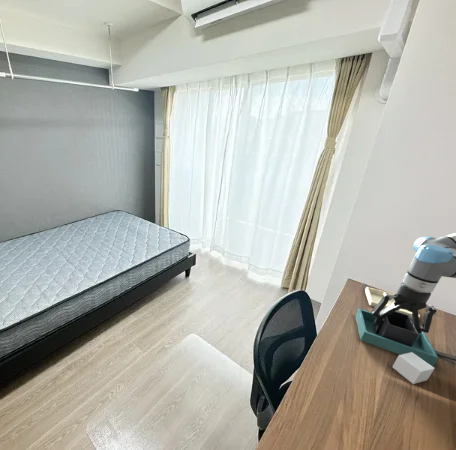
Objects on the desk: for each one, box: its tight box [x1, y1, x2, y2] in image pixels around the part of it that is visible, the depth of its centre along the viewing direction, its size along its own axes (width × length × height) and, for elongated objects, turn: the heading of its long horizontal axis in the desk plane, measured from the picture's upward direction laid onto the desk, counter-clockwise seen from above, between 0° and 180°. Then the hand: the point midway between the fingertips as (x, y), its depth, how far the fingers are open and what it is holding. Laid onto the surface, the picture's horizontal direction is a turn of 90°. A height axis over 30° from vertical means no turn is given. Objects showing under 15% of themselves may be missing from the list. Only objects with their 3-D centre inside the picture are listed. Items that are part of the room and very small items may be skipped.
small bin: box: [374, 308, 419, 347], centre depth 91 cm, size 8×11×9 cm
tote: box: [355, 308, 439, 367], centre depth 92 cm, size 20×16×5 cm
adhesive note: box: [392, 352, 436, 386], centre depth 78 cm, size 6×6×6 cm
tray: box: [364, 286, 421, 319], centre depth 112 cm, size 16×14×2 cm
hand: (390, 336), depth 93 cm, fingers closed on small bin, 8 cm apart
